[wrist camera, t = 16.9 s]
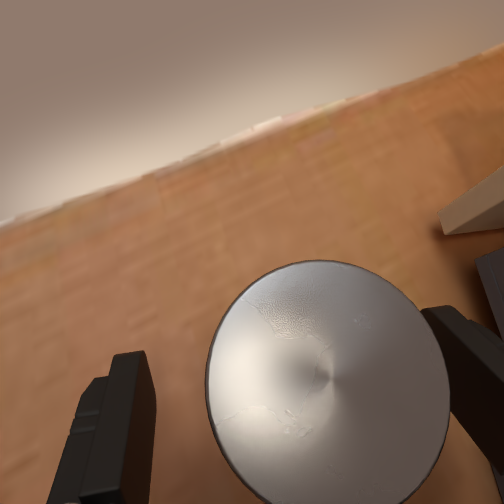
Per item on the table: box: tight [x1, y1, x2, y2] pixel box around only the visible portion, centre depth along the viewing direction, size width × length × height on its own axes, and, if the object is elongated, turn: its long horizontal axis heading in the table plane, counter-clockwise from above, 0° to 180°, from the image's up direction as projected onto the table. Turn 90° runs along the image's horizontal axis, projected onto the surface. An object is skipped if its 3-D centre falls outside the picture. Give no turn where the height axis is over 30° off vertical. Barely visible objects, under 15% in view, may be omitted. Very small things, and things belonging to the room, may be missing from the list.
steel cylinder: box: [205, 260, 451, 504], centre depth 11 cm, size 4×4×10 cm
